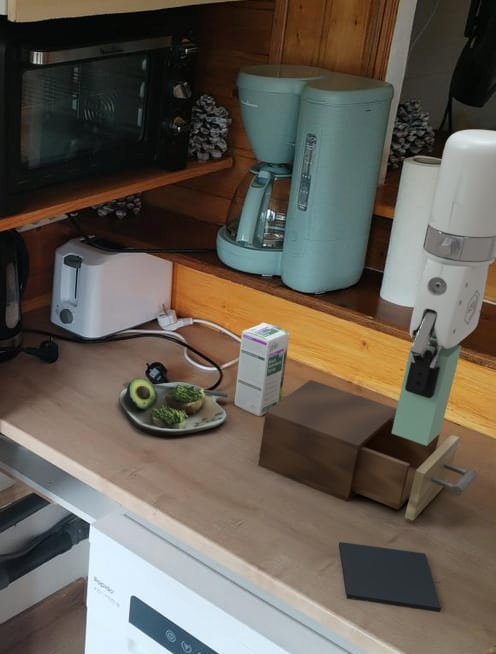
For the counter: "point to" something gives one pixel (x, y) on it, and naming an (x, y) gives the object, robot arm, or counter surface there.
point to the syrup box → (261, 368)
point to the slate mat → (388, 576)
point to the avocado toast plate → (170, 407)
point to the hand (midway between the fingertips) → (427, 385)
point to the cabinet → (320, 436)
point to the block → (426, 401)
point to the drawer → (407, 470)
